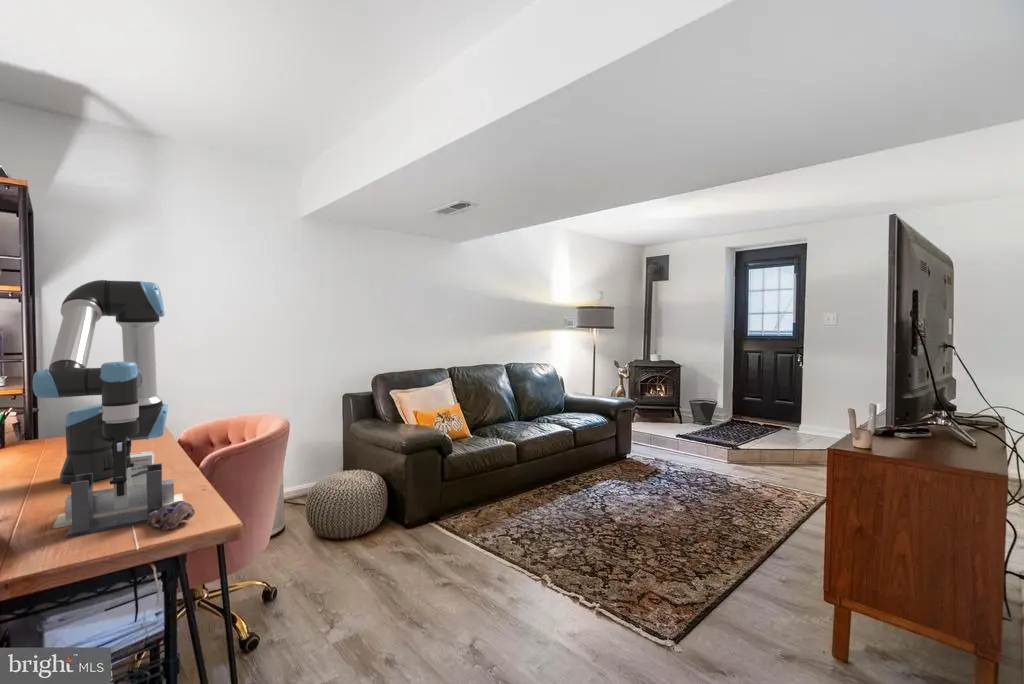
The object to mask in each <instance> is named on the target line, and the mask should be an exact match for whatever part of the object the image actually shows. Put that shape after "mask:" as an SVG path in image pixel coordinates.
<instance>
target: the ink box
mask: <svg viewBox="0 0 1024 684" xmlns="http://www.w3.org/2000/svg"><path fill="white" fill-rule="evenodd" d="M130 460H131V463H134V467H129V468H131V485H137V484H144V483H147V476H146V472H148V469H147V466H148V465H153V464H155V452H154V451H152V450H148V451H142V452H133V453H131V452H130ZM117 478H118V477H117Z"/></svg>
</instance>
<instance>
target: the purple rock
mask: <svg viewBox="0 0 1024 684" xmlns="http://www.w3.org/2000/svg"><path fill="white" fill-rule="evenodd" d="M195 513H196V510H195V508H194V507H193V505H192V504H191V503H189V502H187V501H185V500H183V501H177V502H174V503H171V504H169V505H167V506H165V507H163V508H161V509H160V510H158V511H153V512H151V513H149V514H148V515H147V519H148V522H147V524H148V525H150V526H151V527H153V528H160V529H161V530H163V531H165V530H166V531H167V530H169V529H175V528H176V527H177V526H178V525H180V524H181V523H183V521H189V520H190V519H192V518H193V517H194V515H195Z"/></svg>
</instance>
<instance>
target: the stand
mask: <svg viewBox="0 0 1024 684" xmlns="http://www.w3.org/2000/svg"><path fill="white" fill-rule="evenodd" d="M162 468H163V465H162V462H161V463H154V464H153V465H148V466H147V469H148V472H146V476H147V510H142V511H136V512H131V513H125V514H120V515H114V516H109V517H103V518H97V519H94V508H93V491H94V484H93V483H94V481H93V477H92V473H87V474H80V475H76V482H71V483H70V495H71V505H72V525H70V526H69V529H68V530H67V533H66V538H74V537H77V536H78V537H79V536H83V535H88V534H95V533H98V532H99V533H100V532H103V531H105V532H106V531H110V530H115V529H119V528H125V527H130V526H136V525H140V524H141V525H142V524H146V523H147V524H148V519H147V515H148V514H149V513H151V512H153V511H158V510H160V509H161V508H163V493H162V481H163V469H162ZM164 507H165V506H164Z"/></svg>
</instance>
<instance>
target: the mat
mask: <svg viewBox="0 0 1024 684" xmlns="http://www.w3.org/2000/svg"><path fill="white" fill-rule="evenodd" d="M177 501H184V497H183V493H178V494H174V502H177ZM174 502H169V503H163V507H164V506H167V505H169V504H171V503H174ZM142 510H147V506H146V507H140V508H135V509H129V510H123V511H118V512H112V513H106V514H101V515H95V516H94V519H97V518H103V517H109V516H114V515H120V514H125V513H131V512H136V511H142ZM71 525H72V520H67V521H66V515H65V513H59V514H58V516H57V518H56V520H55V521H54V523H53V529H58V528H64V527H71Z"/></svg>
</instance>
